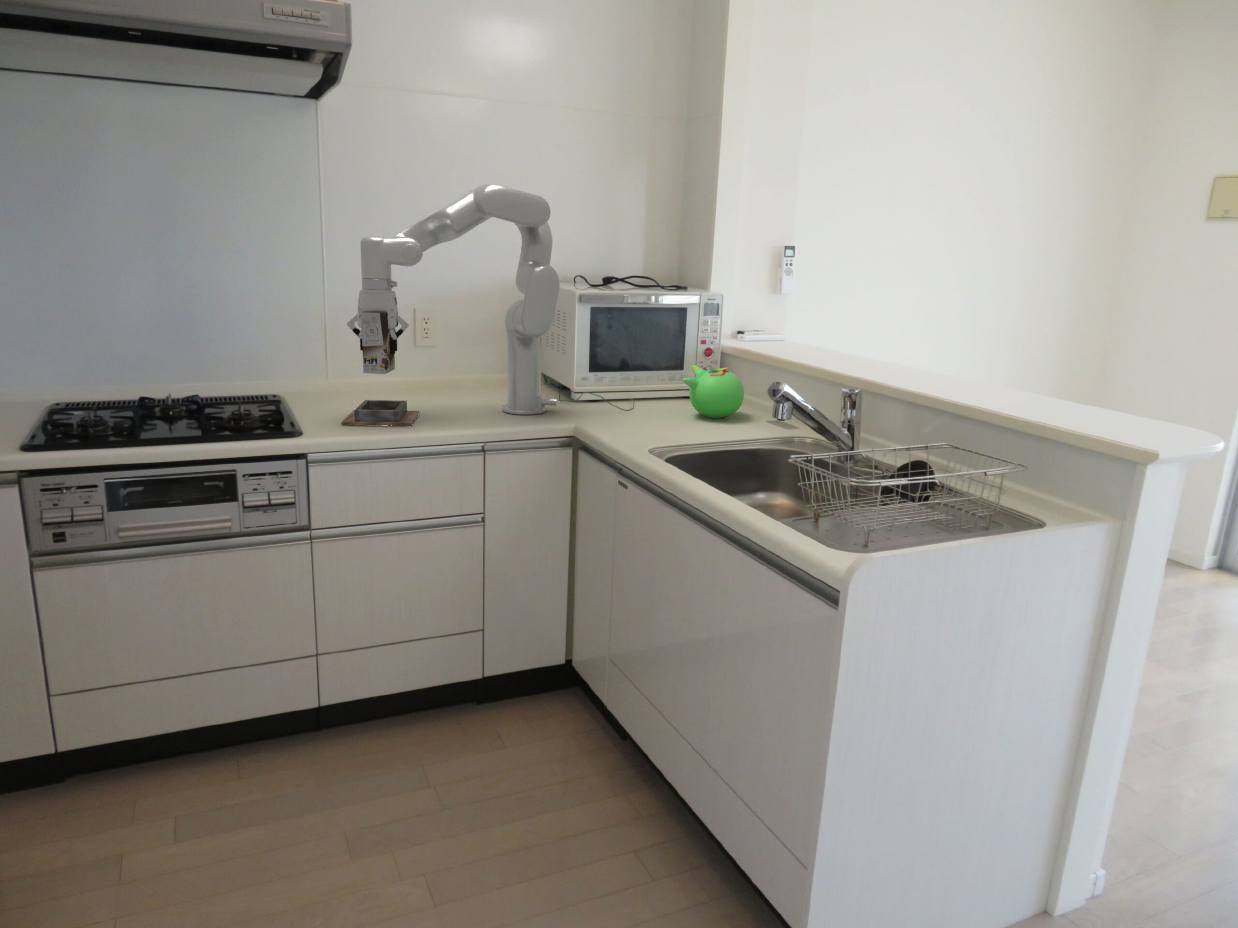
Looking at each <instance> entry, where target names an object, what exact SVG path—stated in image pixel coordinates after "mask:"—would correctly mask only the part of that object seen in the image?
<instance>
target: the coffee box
mask: <svg viewBox="0 0 1238 928" xmlns="http://www.w3.org/2000/svg"><path fill="white" fill-rule="evenodd" d="M361 313H362V328H361V329H362V346H363V352H362V369H363V370H362V372H363V374H378V375H387V374H388V373H391V372H392V371H395V369H396V361H395V359H396V358H395V356H396V355H395V354H396V353H395V354H394V355H392V354H391V346H390V340H391V337H392V336H391V335H390V333H389V328H388V313H387V312H380V311H373V312H361Z"/></svg>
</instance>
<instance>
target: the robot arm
mask: <svg viewBox="0 0 1238 928" xmlns="http://www.w3.org/2000/svg"><path fill="white" fill-rule="evenodd" d="M550 206H551V205H549V202H548V201H547V199H545V198H544V197H543V196H541V195H538V194H534V193H530V192H527V191H523V190H519V189H515V188H511V187H508V186H504V185H502V184H496V183H489V184H486V183H485V184H481V185H480V186H479V185H478V186H477V187H475V188H473V189H472V190H470V191H468V192H467V193H465V194H464V195H462V196H461V197H459V198H457V199H456V200H454V201H452V202H451V203H449V204H448V205H446V206H444V207H442V208H441V209H439V210H436V211H435V212H433V213H431V214H430V215H429V216H427V217H425V218H423V219H421V220H420V221H417V222H416V223H414V224H412V225H411V226H409V227H407V228H406V229H403V230H402V231H401V232H399V233H398V234H396V235H394V236H393V237H391V238H387V237H384V236H363V237H362V238H361V240H360V269H361V272H360V273H361V289H360V290H359V292H358V298H357V299H358V300H357V314H356V315H355V316H353V317H352V318H351V319H350V320H349V321H348V322H347V323H346V325H347V327H349V329H350V330H351V331H352V332H353V333H354V335H356V336H357V337H358V339H359V346H360V347H359V349H360V351H361V352H362V353H363V346H362V313H361V312H373V311H380V312H387V313H388V328H389V333H390V335H391V336H392V337H391V340H390V346H391V354H392V355H394V354H396V352H397V351H398V338H399V337H400V336H401V335H402V334H403V333H404V332H405V331H406V330H407V329H408V328H409V327H410V324H409V323H408V322H407V321H405V319H403V317H401V316H400V314H399V307H398V301H397V294H396V290H393V288H395V287H398V281H395V280H393V278H392V266H393V265H395V266H401V267H409V268H410V267H413V266H416V265H417V264H419V263H420V262H421V260H422V258H423V255H424V252H426V251H428V250H429V249H431V248H434V247H435V246H437V245H440V244H444V243H447V242H451V241H454V240H456V239H459V238H461V237H462V236H463V235H465V234H467V233H469V232H470V231H472V230H474V229H475V228H476V227H478V226H479V225H482V224H483V223H485V222H486V221H488V220H490V219H491V218H496V219H498V220H502V221H507V222H509V223H514V225H516V227H517V228H518V231H519V233H520V235H521V247H520V254H519V260H518V264H517V271H516V274H515V275H516V276H515V286H516V288H517V290H518V291H519V292H520V293H521V294H523V295H524V297H523V299H521V300H517V301H514V302H513V303H511V304H510V305H509V306H508V308H507V310H506V311H505V312H506V313H505V315H504V316H505V319H504V321H505V322H504V323H505V332H506V339H507V340H506V341H507V342H506V344H507V403H506V404H504V405H502V407H501V410H502V411H503V412H504V413H507V414H510V415H511V414H512V415H522V416H523V415H524V416H526V415H537V414H542V413H544V412H546V411H547V410H546V409H547V407H546V406H550V407H551V406H554V407H555V406H557V399H556V398H548V397H547V398H546V397H543V394H542V393H541V392H542V391H541V390H542V389H541V387H542V381H541V380H542V379H541V378H542V377H541V376H542V375H541V374H542V369H541V367H542V344H541V338H542V337H544V336H546V335H547V334H548V333H549V332H550V330H551V328H552V326H553V323H554V320H555V315H556V310H557V304H558V299H559V295H560V294H559V293H560V287H561V286H560V277H559V274H558V271H556V269H555V268H554V267H552V265H551V259H552V252H553V234H552V230H551V228H550V225H549V223H548V221H549V220H550V217H551V207H550ZM356 323H357V326H358V327H359V328H360V329H359V328H358V327H357V326H356V325H355V324H356ZM399 325H401V326H400V327H399V329H398V330H396V328H397V327H398V326H399Z"/></svg>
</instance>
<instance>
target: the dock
mask: <svg viewBox="0 0 1238 928" xmlns="http://www.w3.org/2000/svg"><path fill="white" fill-rule="evenodd" d="M420 411H421V410H408V400H399V399H398V400H391V399H390V400H389V399H387V400H385V399H384V400H382V399H364V401H362V403H360V404H359V406H357V407H356V408H355V409H353V410H352V411H351V412H350V413H349V414H348V415H347V416H346V417H345V418H344V419H343V420H342V421H340V422H341V423H340V425H388V426H391V425H392V426H411V427H413V425H414V423H415V422H416V420H417V419H418V417H419V416H418V414H419V413H420ZM419 415H420V414H419ZM417 416H418V417H417ZM416 418H417V419H416ZM415 419H416V420H415ZM414 421H415V422H414ZM412 424H413V425H412ZM388 426H387V427H388Z"/></svg>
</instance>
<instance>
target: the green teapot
mask: <svg viewBox="0 0 1238 928" xmlns="http://www.w3.org/2000/svg"><path fill="white" fill-rule="evenodd" d="M729 369H730V367H722V368H711V369H708V370H705V369H704V368H702V367H700V366H698V365H695V364H692V365H691V370H692V372H693V373H694V375H695V377H684V378H683V380H682V382H683V383H684V384H685V385H687V386H688V387H689V396H688V397H689V399H690V403H691V405H692V407H693V409H694V410H695V411H696V412H698V414H701V415H702V416H704V417H708V418H712V419H713V418H717V419H719V418H725V417H728V416H731V415H733V414H735V413H736V412H737V411H739V409H740V407H741V406H742V405H743V402H744V400H745V390H744V385H743V383H742V381H741V379H740V378H739V377H738V376H737V375H736V374H735V373H733V372H732V371H729Z"/></svg>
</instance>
